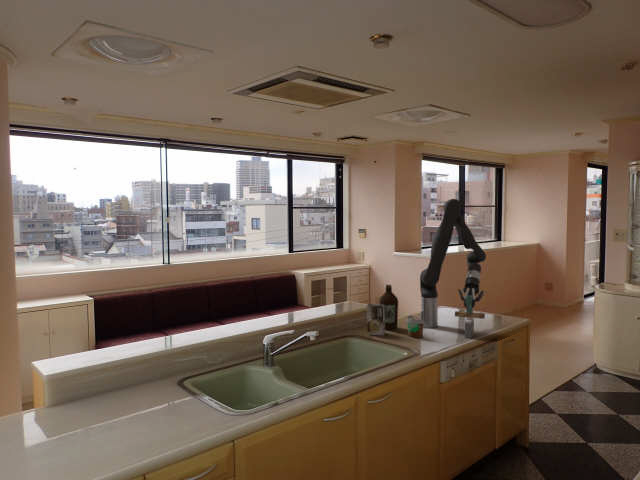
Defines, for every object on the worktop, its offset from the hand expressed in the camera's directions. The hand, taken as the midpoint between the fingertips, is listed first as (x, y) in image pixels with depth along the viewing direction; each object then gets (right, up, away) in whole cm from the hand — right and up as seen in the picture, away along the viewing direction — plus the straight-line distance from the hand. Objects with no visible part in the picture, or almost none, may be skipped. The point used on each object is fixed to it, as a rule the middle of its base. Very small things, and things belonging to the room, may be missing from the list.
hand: (468, 306), depth 255 cm
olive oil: (-39, -16, +21) cm, 47 cm away
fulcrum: (+1, -16, +3) cm, 16 cm away
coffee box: (-48, -17, +10) cm, 52 cm away
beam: (+1, -6, +2) cm, 6 cm away
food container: (-29, -17, +4) cm, 34 cm away
